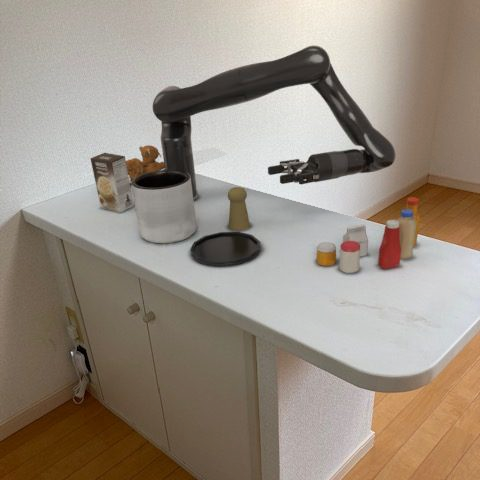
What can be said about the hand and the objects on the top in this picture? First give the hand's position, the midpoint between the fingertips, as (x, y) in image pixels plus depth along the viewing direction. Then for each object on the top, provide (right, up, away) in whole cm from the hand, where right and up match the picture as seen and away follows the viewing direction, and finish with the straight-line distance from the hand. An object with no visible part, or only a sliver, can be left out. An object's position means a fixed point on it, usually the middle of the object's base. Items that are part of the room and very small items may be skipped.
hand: (274, 175), depth 141 cm
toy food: (+23, -25, -16) cm, 37 cm away
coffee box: (-48, -4, +24) cm, 54 cm away
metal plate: (-13, -22, -8) cm, 26 cm away
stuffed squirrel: (-41, +7, +40) cm, 58 cm away
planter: (-29, -15, +4) cm, 33 cm away
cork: (-10, -13, +5) cm, 17 cm away
